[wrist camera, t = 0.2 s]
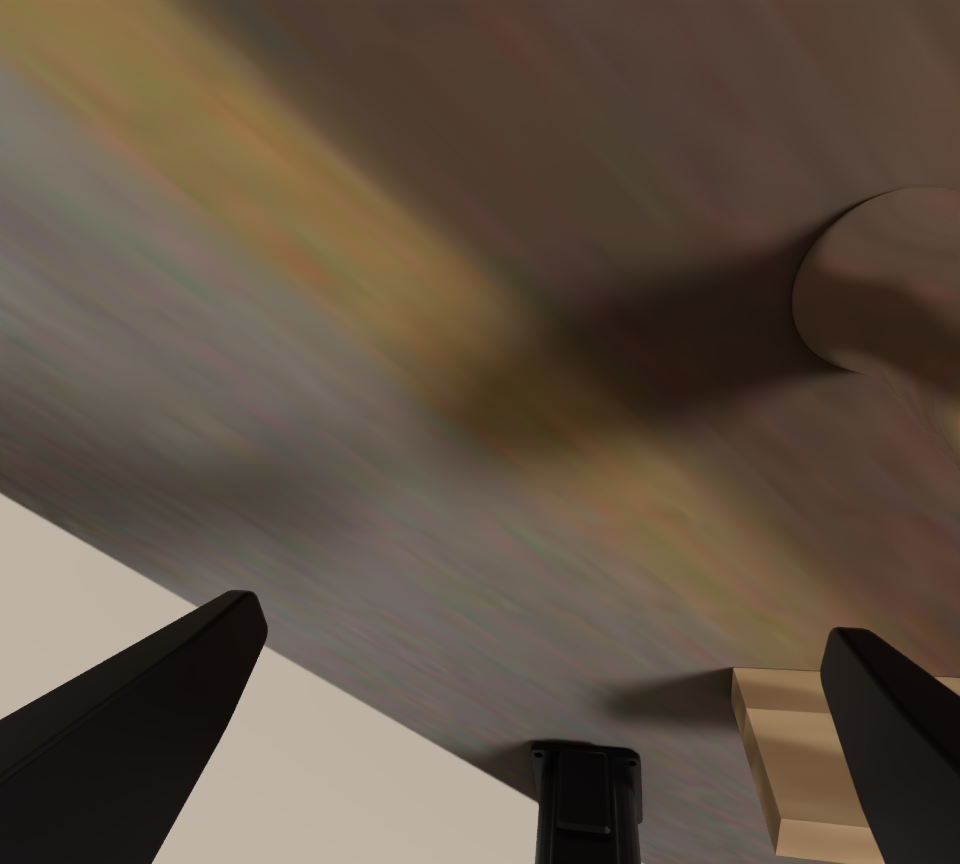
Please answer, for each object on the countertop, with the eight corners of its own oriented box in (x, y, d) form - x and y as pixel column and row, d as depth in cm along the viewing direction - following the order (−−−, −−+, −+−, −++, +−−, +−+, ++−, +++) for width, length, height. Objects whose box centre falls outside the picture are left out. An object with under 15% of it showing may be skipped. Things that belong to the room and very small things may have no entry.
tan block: (1003, 717, 24) (1150, 900, 18) (730, 701, 27) (775, 854, 20) (1017, 680, 23) (1179, 861, 17) (733, 667, 26) (781, 818, 19)
